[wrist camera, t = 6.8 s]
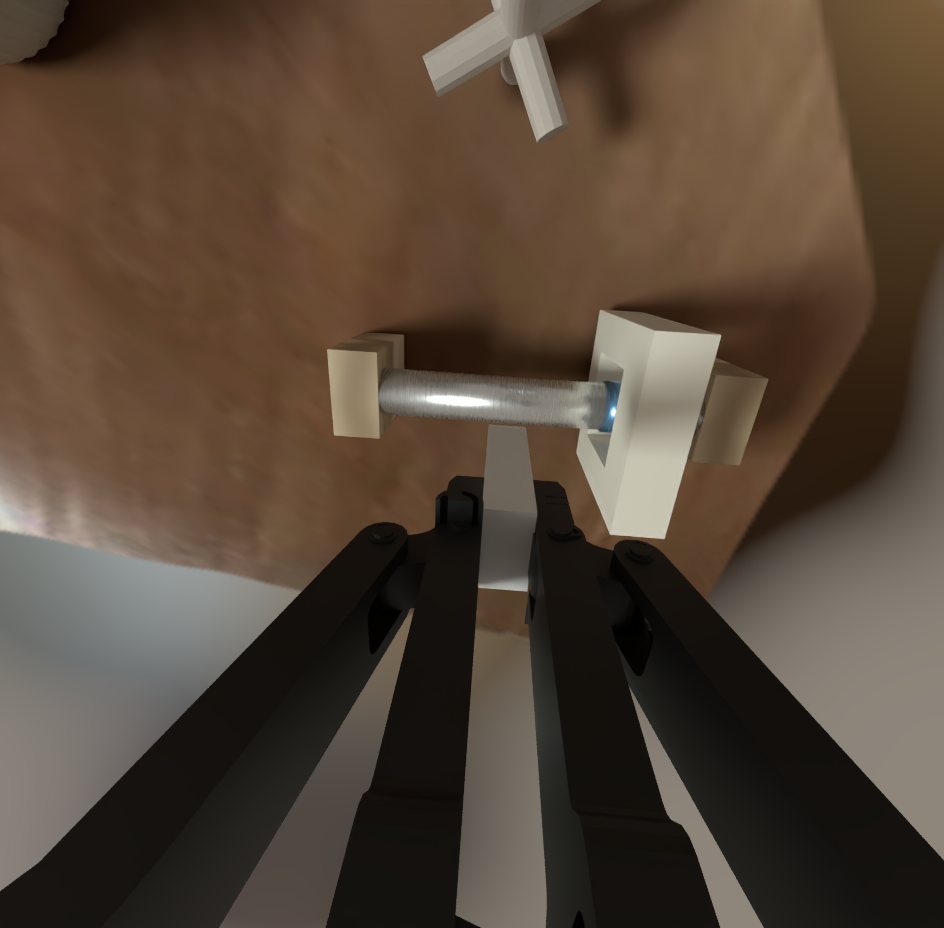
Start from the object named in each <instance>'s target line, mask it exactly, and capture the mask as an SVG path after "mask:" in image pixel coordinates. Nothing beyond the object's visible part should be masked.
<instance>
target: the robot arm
mask: <svg viewBox="0 0 944 928" xmlns="http://www.w3.org/2000/svg"><path fill="white" fill-rule="evenodd" d="M528 581H529V594H528V601H527V609H526V616H525V623H524V624H528V623H529V638H530V652H531V667H532V682H533V696H534V711H535V726H536V740H537V755H538V768H539V769H538V770H539V784H540V799H541V813H542V828H543V842H544V857H545V872H546V887H547V916H546V928H720V926H719V923H718V920H717V916H716V913H715V910H714V907H713V904H712V901H711V898H710V895H709V892H708V888H707V885H706V882H705V879H704V876H703V873H702V870H701V867H700V864H699V861H698V858H697V855H696V852H695V850H694V848H693V845H692V842H691V840H690V838H689V836H688V834H687V833H686V831H685V830H684V828H683V827H682V825H680V824H678V823H676V822H674V821H672V820H671V819H670V818H669V816H668V815H667V813H666V810H665V808H664V805H663V802H662V799H661V795H660V792H659V788H658V785H657V781H656V779H655V775H654V771H653V768H652V764H651V761H650V757H649V754H648V751H647V747H646V744H645V740H644V737H643V733H642V731H641V727H640V723H639V720H638V716H637V713H636V710H635V706H634V703H633V700H632V696H631V693H630V689H629V687H630V688H631V690H632V692H633V694H634V696H635V697H636V699H637V701H638V703H639V704H640V706H641V708H642V710H643V712H644V713H645V715H646V717H647V719H648V721H649V722H650V724H651V726H652V728H653V730H654V731H655V733H656V735H657V737H658V739H659V740H660V742H661V744H662V746H663V748H664V749H665V751H666V753H667V755H668V757H669V758H670V760H671V762H672V764H673V765H674V767H675V769H676V771H677V773H678V774H679V776H680V778H681V780H682V781H683V783H684V785H685V787H686V789H687V791H688V792H689V794H690V796H691V798H692V800H693V801H694V803H695V805H696V807H697V809H698V810H699V812H700V814H701V816H702V818H703V819H704V821H705V823H706V825H707V826H708V828H709V830H710V832H711V834H712V835H713V837H714V839H715V841H716V842H717V844H718V846H719V848H720V850H721V851H722V853H723V855H724V857H725V859H726V861H727V862H728V864H729V866H730V868H731V870H732V871H733V873H734V875H735V876H736V879H737V880H738V882H739V884H740V886H741V887H742V889H743V891H744V893H745V895H746V896H747V898H748V900H749V902H750V904H751V905H752V907H753V909H754V911H755V913H756V914H757V916H758V918H759V920H760V922H761V923H762V925H763V927H764V928H944V860H943V859H942V858H941V857H940V856H939V855H938V854H937V852H935V850H934V849H933V848H932V847H931V846H930V845H929V844H928V842H927V841H926V840H925V839H924V838H923V837H922V836H921V835H920V834H919V833H918V832H917V831H916V829H915V828H914V827H913V826H912V825H911V824H910V823H909V822H908V821H907V820H906V818H905V817H904V816H903V815H902V814H901V813H900V812H899V811H898V810H897V809H896V808H895V807H894V805H893V804H892V803H891V802H890V801H889V800H888V799H887V798H886V797H885V795H884V794H883V793H882V792H881V791H880V790H879V789H878V788H877V787H876V786H875V785H874V783H873V782H872V781H871V780H870V779H869V778H868V777H867V776H866V775H865V774H864V773H863V772H862V771H861V769H860V768H859V767H858V766H857V765H856V764H855V763H854V762H853V760H852V759H851V758H850V757H849V756H848V755H847V754H846V753H845V752H844V751H843V750H842V748H840V746H839V745H838V744H837V743H836V742H835V741H834V740H833V739H832V738H831V737H830V735H829V734H828V733H827V732H826V731H825V730H824V729H823V728H822V727H821V726H820V724H819V723H818V722H817V721H816V720H815V719H814V718H813V717H812V716H811V715H810V713H809V712H808V711H807V710H806V709H805V708H804V707H803V706H802V705H801V704H800V703H799V702H798V701H797V699H796V698H795V697H794V696H793V695H792V694H791V693H790V692H789V691H788V689H787V688H786V687H785V686H784V685H783V684H782V683H781V682H780V681H779V680H778V678H777V677H775V675H774V674H773V673H772V672H771V671H770V670H769V669H768V668H767V666H766V665H765V664H764V663H763V662H762V661H761V660H760V659H759V658H758V657H757V656H756V655H755V653H754V652H753V651H752V650H751V649H750V648H749V647H748V646H747V645H746V644H745V643H744V641H743V640H742V639H741V638H740V637H739V636H738V635H737V634H736V633H735V631H734V630H733V629H732V628H731V627H730V626H729V625H728V624H727V623H726V622H725V621H724V619H723V618H722V617H721V616H720V615H719V614H718V613H717V612H716V611H715V610H714V609H713V608H712V606H711V605H710V604H709V603H708V602H707V601H706V600H705V599H704V598H703V597H702V595H701V594H700V593H699V592H698V591H697V590H696V589H695V588H694V587H693V586H692V584H691V583H690V582H689V581H688V580H687V579H686V578H685V577H684V576H683V575H682V574H681V572H680V571H679V570H678V569H677V568H676V567H675V566H674V565H673V564H672V563H671V562H670V560H669V559H668V558H667V557H666V556H665V555H664V554H663V553H662V552H661V551H660V550H658V549H657V548H656V547H654V546H652V545H650V544H648V543H646V542H643V541H638V540H623V541H619V542H618V543H617V544H615V547H614V551H612V550H609V549H605V548H601V547H598V546H595V545H593V544H591V543H589V542H587V541H586V538H585V535H584V534H583V532H582V530H581V529H579V528H578V527H576V526H575V525H574V521H573V517H572V514H571V510H570V506H569V503H568V499H567V495H566V492H565V489H564V488H563V487H562V486H561V485H560V484H559V483H558V482H553V481H539V480H533V477H532V470H531V463H530V455H529V448H528V441H527V434H526V427H516V426H502V425H489V428H488V440H487V452H486V465H485V477H484V478H483V477H469V476H455V477H454V478H453V479H452V480H451V481H450V482H449V484H448V489H447V491H444V492H442V493H440V494H439V495H438V496H437V498H436V515H435V528H433V529H432V530H430V531H427V532H424V533H420V534H414V535H408V534H407V530H406V529H405V528H404V527H402V526H401V525H398V524H396V523H389V522H382V523H381V522H380V523H375V524H372V525H369V526H367V527H366V528H364V529H363V530H361V531H360V532H359V533H358V534H357V535H356V536H355V537H354V538H353V540H352V541H351V542H350V543H349V544H348V545H347V546H346V547H345V548H344V549H343V550H342V551H341V552H340V553H339V554H338V555H337V556H336V557H335V558H334V559H333V560H332V561H331V562H330V563H329V564H328V565H327V566H326V567H325V568H324V569H323V570H322V571H321V572H320V574H319V575H318V576H317V577H316V578H315V579H314V580H313V581H312V582H311V583H310V584H309V585H308V586H307V587H306V588H305V589H304V590H303V591H302V592H301V593H300V594H299V595H298V596H297V597H296V598H295V599H294V600H293V601H292V603H290V604H289V605H288V606H287V608H286V609H285V610H284V611H283V612H282V613H281V614H280V615H279V616H278V617H277V618H276V619H275V620H274V621H273V622H272V623H271V624H270V625H269V626H268V627H267V628H266V629H265V630H264V631H263V632H262V633H261V634H260V635H259V636H258V637H257V639H255V641H254V642H253V643H252V644H251V645H250V646H249V647H248V648H247V649H246V650H245V651H244V652H243V653H242V654H241V655H240V656H239V657H238V658H237V659H236V660H235V661H234V662H233V663H232V664H231V665H230V666H229V667H228V669H226V670H225V671H224V672H223V673H222V674H221V675H220V677H219V678H218V679H217V680H216V681H215V682H214V683H213V684H212V685H211V686H210V687H209V688H208V689H207V690H206V691H205V692H204V693H203V694H202V695H201V696H200V697H199V698H198V699H197V700H196V701H195V702H194V703H193V704H192V705H191V707H189V708H188V709H187V711H186V712H185V713H184V714H183V715H182V716H181V717H180V718H179V719H178V720H177V721H176V722H175V723H174V724H173V725H172V726H171V727H170V728H169V729H168V730H167V731H166V732H165V733H164V734H163V735H162V736H161V737H160V739H158V740H157V741H156V743H154V744H153V746H152V747H151V748H150V749H149V750H148V751H147V752H146V753H145V754H144V755H143V756H142V757H141V758H140V759H139V760H138V761H137V762H136V763H135V764H134V765H133V766H132V767H131V768H130V769H129V770H128V771H127V772H126V773H125V774H124V776H122V777H121V779H120V780H119V781H118V782H117V783H116V784H115V785H114V786H113V787H112V788H111V789H110V790H109V791H108V792H107V793H106V794H105V795H104V796H103V797H102V798H101V799H100V800H99V801H98V802H97V803H96V804H95V805H94V806H93V807H92V808H91V809H90V810H89V811H88V813H86V815H85V816H84V817H83V818H82V819H81V820H80V821H79V822H78V823H77V824H76V825H75V826H74V827H73V828H72V829H71V830H70V831H69V832H68V833H67V834H66V835H65V836H64V837H63V838H62V839H61V841H59V842H58V843H57V844H56V846H54V848H52V850H51V851H50V852H49V853H48V854H47V855H46V856H45V857H44V858H43V859H42V860H41V861H40V862H39V863H38V864H36V865H35V866H34V867H32V868H31V869H29V870H28V871H27V872H26V873H24V874H23V875H21V876H20V877H19V878H17V879H16V880H15V881H13V882H12V883H11V884H9V885H8V886H7V887H5V888H4V889H2V890H1V891H0V928H219V926H220V925H221V923H222V922H223V920H224V918H225V917H226V915H227V913H228V912H229V910H230V908H231V907H232V905H233V903H234V901H235V900H236V898H237V897H238V895H239V893H240V892H241V890H242V888H243V887H244V885H245V883H246V881H247V880H248V878H249V877H250V875H251V874H252V872H253V870H254V869H255V867H256V865H257V864H258V862H259V860H260V859H261V857H262V855H263V853H264V852H265V850H266V849H267V847H268V845H269V844H270V842H271V840H272V839H273V837H274V835H275V834H276V832H277V830H278V829H279V827H280V826H281V823H282V822H283V821H284V819H285V817H286V816H287V814H288V812H289V811H290V809H291V807H292V806H293V804H294V802H295V801H296V799H297V797H298V796H299V794H300V792H301V791H302V789H303V787H304V786H305V784H306V783H307V781H308V779H309V778H310V776H311V774H312V773H313V771H314V769H315V768H316V766H317V764H318V763H319V761H320V759H321V758H322V756H323V754H324V753H325V751H326V749H327V748H328V746H329V744H330V743H331V741H332V740H333V738H334V736H335V734H336V733H337V731H338V730H339V728H340V726H341V725H342V723H343V721H344V720H345V718H346V716H347V715H348V713H349V711H350V710H351V708H352V706H353V705H354V703H355V701H356V699H357V698H358V696H359V695H360V693H361V692H362V690H363V688H364V687H365V685H366V683H367V682H368V680H369V678H370V677H371V675H372V673H373V672H374V670H375V668H376V666H377V665H378V663H379V662H380V660H381V658H382V657H383V655H384V653H385V652H386V650H387V648H388V647H389V645H390V644H391V642H392V640H393V639H394V637H395V635H396V633H397V632H398V630H399V629H400V627H401V625H402V624H403V622H404V620H405V619H406V617H407V615H408V612H409V609H411V608H415V609H414V613H413V617H412V621H411V625H410V629H409V633H408V637H407V642H406V646H405V650H404V654H403V658H402V662H401V666H400V670H399V674H398V678H397V682H396V686H395V690H394V695H393V699H392V703H391V707H390V711H389V715H388V719H387V723H386V727H385V731H384V735H383V739H382V743H381V748H380V752H379V756H378V759H377V764H376V768H375V772H374V776H373V779H372V783H371V786H370V788H369V790H368V791H367V792H365V793H364V794H363V796H362V798H361V800H360V802H359V805H358V808H357V812H356V815H355V818H354V822H353V826H352V830H351V833H350V837H349V841H348V845H347V848H346V852H345V856H344V860H343V864H342V867H341V871H340V875H339V879H338V883H337V887H336V890H335V894H334V898H333V902H332V906H331V909H330V913H329V917H328V921H327V925H326V928H480V927H478V926H476V925H474V924H472V923H470V922H468V921H466V920H464V919H462V918H460V917H458V916H456V915H455V912H456V898H457V883H458V869H459V854H460V840H461V825H462V811H463V795H464V781H465V767H466V752H467V738H468V724H469V710H470V695H471V681H472V666H473V652H474V638H475V623H476V609H477V595H478V587H479V588H492V589H504V590H516V591H527V587H528ZM628 685H629V686H628Z"/></svg>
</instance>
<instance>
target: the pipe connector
mask: <svg viewBox="0 0 944 928" xmlns="http://www.w3.org/2000/svg"><path fill="white" fill-rule="evenodd" d="M491 1H492V5H493V8H494V12H493V13H491V14H489V15H488V16H486V17H485V18H483V19H481V20H480V21H478V22H477V23H475V24H473V25H472V26H470V27H469V28H467V29H465V30H464V31H462V32H461V33H459V34H457V35H456V36H454V37H453V38H451V39H449V40H448V41H446V42H445V43H443V44H441V45H440V46H438V47H437V48H435V49H433V50H432V51H430V52H429V53H427V54H425V55H424V56H423V59H424V62H425V64H426V67H427V70H428V72H429V75H430V78H431V80H432V83H433V86H434V88H435V91H436V93H437V96H438V98H439V97H441V96H442V95H444V94H446V93H447V92H449V91H451V90H452V89H454V88H456V87H457V86H459V85H461V84H462V83H464V82H466V81H467V80H469V79H471V78H472V77H474V76H476V75H477V74H479V73H481V72H482V71H484V70H486V69H487V68H489V67H491V66H492V65H494V64H496V63H498V62H499V61H501V73H502V76H503V78H504V80H505V81H506V82H507V83H509V84H511V85H519V88H520V91H521V94H522V97H523V100H524V104H525V107H526V110H527V113H528V116H529V119H530V122H531V125H532V128H533V131H534V135H535V138H536V141H537V143H541V142H544V141H546V140H549V139H551V138H552V137H554V136H556V135H557V134H559V133H560V132H562V131H563V130H564V129H566V128H567V126H568V125H569V124H568V121H567V117H566V114H565V110H564V107H563V104H562V100H561V97H560V94H559V90H558V87H557V83H556V80H555V77H554V73H553V70H552V67H551V63H550V60H549V56H548V53H547V50H546V46H545V43H544V40H543V35H544V34H546V33H548V32H549V31H551V30H553V29H554V28H556V27H558V26H560V25H561V24H563V23H565V22H566V21H568V20H570V19H571V18H573V17H575V16H576V15H578V14H580V13H581V12H583V11H585V10H586V9H588V8H590V7H591V6H593V5H595V4H596V3H598V2H600V1H601V0H491Z"/></svg>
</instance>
